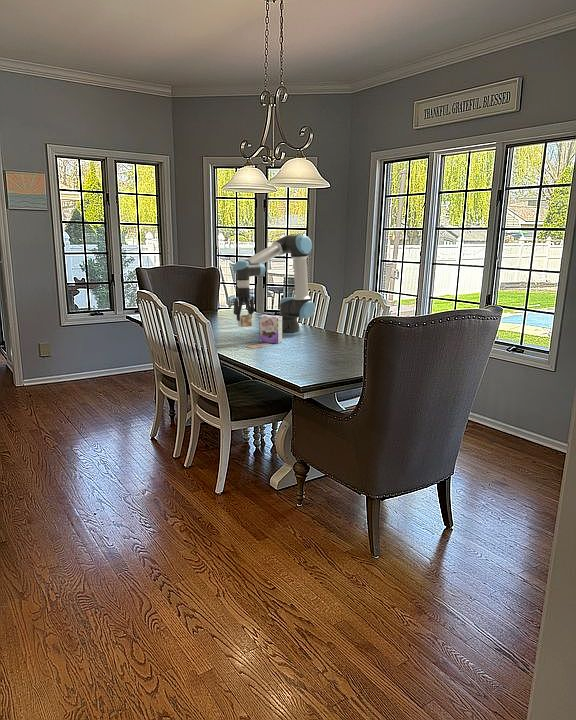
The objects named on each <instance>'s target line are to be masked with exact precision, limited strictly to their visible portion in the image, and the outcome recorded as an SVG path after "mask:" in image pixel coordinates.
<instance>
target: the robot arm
mask: <svg viewBox="0 0 576 720" xmlns="http://www.w3.org/2000/svg"><path fill="white" fill-rule="evenodd" d="M312 249H313V243H312V240H311V239H310V237H309V236H307V235H303V234H289V235H288V234H287V235H285V236H282V237H280V238H278V239H277V240H275V241H273V242H272V244H271V245H269V246H267V247H266V248H264V249H262V250H261V251H259V252H257V253H255V254H253V255H252V256H250V257H248V258H247V259H245V260H238V261H237V262H235V263H234V265H233V266H232V267H233V272H234V273H235V274H236V287H237V288H236V293H237V296H236V297H234V298H232V300H233V315H236V321H237V327H241V326H242V324H241V316H242V315H241V312H242V307H243V305H244V304H245V306H246V309H247V314H246V315H248V316H251V320H252V319H253V314H254V313H255V304H254V302H255V301H254V299H255V297H254V295H253V296H252V295H250V294H251V293H250V292H251V291H250V290H251V289H250V284H251V283H250V277H260V276H264V274H265V273H266V266H265V263H267V262H269V261H270V260H272V259H273V258H276V257H277V256H278V257H279V256H282V255H284V254H290V258H291V259H292V260H293V275H294V276H293V278H294V293H295V294H294V295H295V296H292V297H291V296H290V297H289V296H288V297H282V298H280V299H279V316H282V333H289V334H290V333H297V332H300V325H299V322H298V318H300V319H310V318H311V317H312V316H313V315H314V312H315V309H316V306H315V303H314V302H313V301H312V299H311V298H312V297H311V296H310V295H309V283H308V282H309V281H308V267H307V264H308V263H307V262H308V261H307V259H308V257H309V256H310V255H309V253H311V251H312Z"/></svg>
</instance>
